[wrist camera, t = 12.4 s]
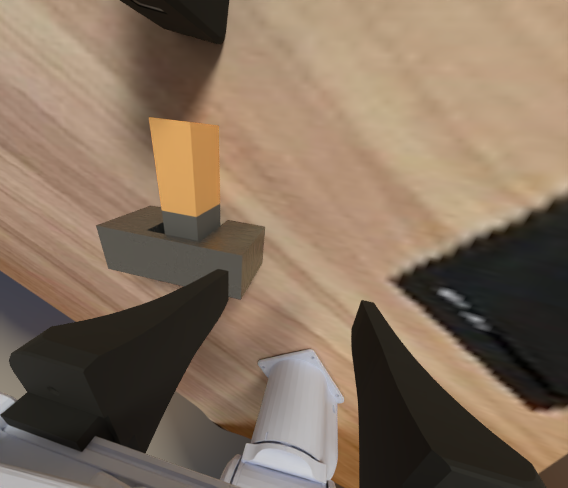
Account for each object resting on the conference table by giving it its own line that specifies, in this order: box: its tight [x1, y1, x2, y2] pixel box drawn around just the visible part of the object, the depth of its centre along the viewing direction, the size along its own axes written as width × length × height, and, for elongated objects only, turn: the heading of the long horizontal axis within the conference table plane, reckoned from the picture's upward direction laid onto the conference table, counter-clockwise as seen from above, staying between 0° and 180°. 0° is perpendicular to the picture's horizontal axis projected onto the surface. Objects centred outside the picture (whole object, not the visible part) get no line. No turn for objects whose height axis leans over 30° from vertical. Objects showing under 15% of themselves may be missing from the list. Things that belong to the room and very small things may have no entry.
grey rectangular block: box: [96, 206, 265, 300], centre depth 20 cm, size 4×12×6 cm, turn 84°
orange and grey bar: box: [149, 117, 220, 241], centre depth 19 cm, size 13×3×4 cm, turn 174°
